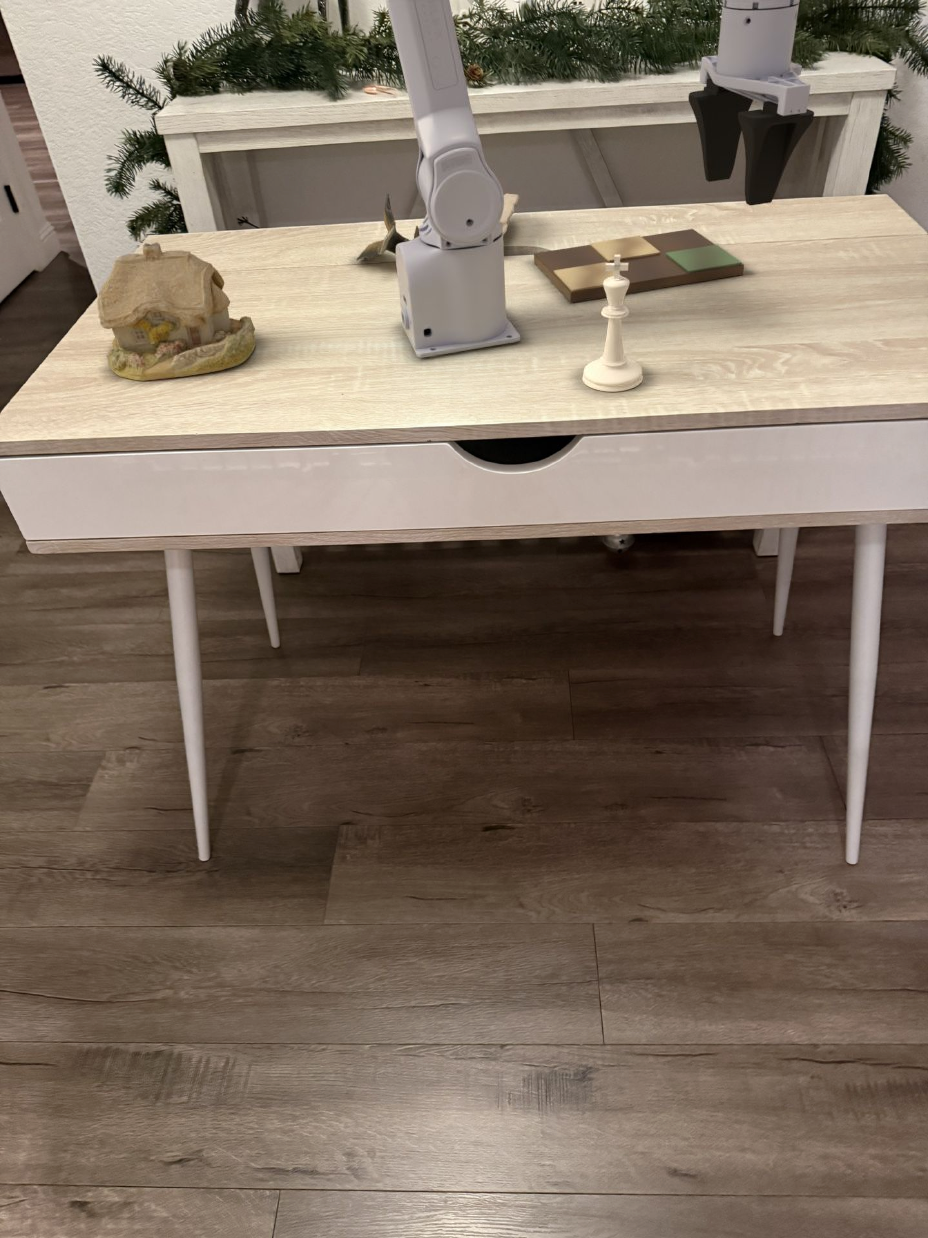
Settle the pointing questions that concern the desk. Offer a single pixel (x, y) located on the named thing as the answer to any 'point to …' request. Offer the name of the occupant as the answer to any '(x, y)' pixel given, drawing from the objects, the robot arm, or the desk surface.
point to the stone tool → (508, 209)
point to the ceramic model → (170, 317)
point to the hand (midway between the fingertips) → (737, 190)
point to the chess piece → (614, 340)
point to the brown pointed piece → (390, 239)
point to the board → (637, 263)
